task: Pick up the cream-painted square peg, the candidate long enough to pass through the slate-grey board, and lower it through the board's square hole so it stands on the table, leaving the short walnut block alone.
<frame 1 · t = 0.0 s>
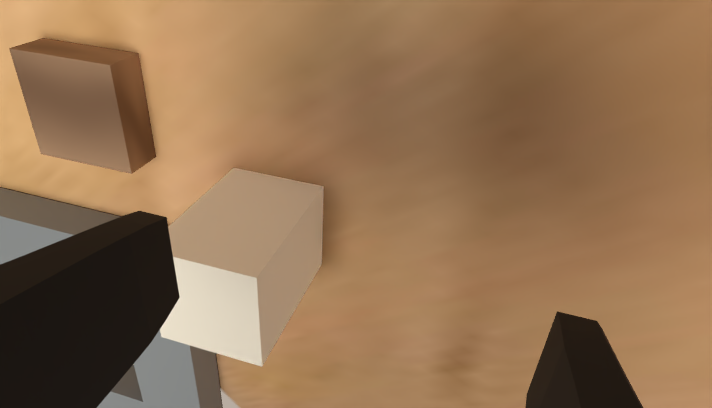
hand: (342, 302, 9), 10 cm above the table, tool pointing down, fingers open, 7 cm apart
board: (107, 322, 30), on the table
short block: (107, 96, 22), on the table
peg: (279, 217, 22), on the table
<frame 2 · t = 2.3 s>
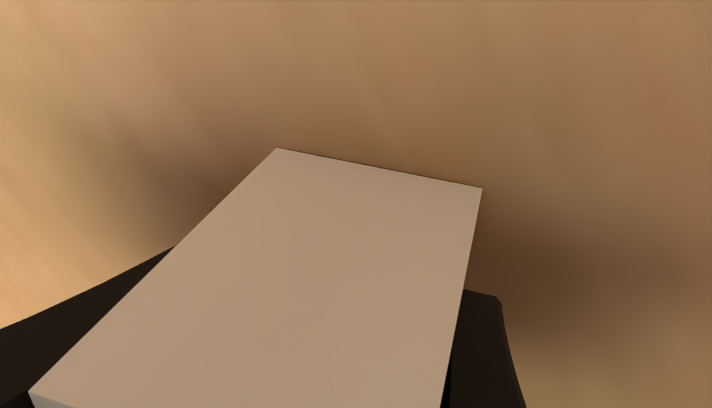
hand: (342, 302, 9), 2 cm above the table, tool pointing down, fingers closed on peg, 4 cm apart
peg: (367, 251, 11), on the table, touching gripper
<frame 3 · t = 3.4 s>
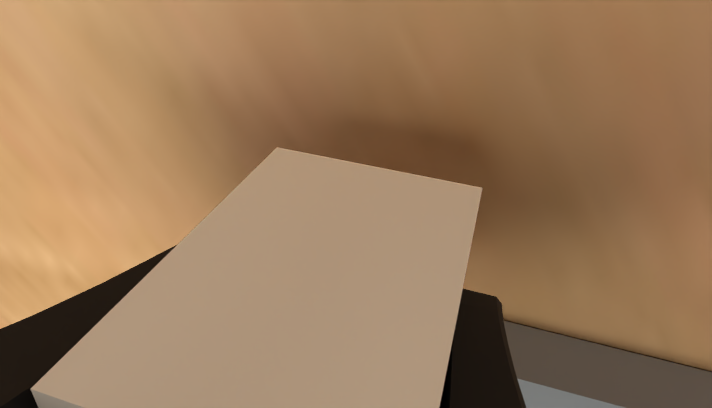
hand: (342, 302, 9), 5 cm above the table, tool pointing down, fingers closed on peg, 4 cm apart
peg: (367, 251, 11), point 3 cm above the table, touching gripper
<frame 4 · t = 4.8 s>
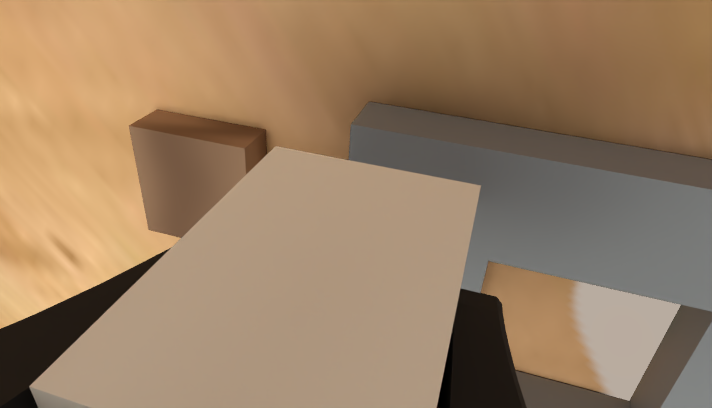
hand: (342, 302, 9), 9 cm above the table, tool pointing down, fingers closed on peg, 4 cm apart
board: (565, 318, 19), on the table
short block: (219, 168, 21), on the table
peg: (366, 249, 11), point 7 cm above the table, touching gripper
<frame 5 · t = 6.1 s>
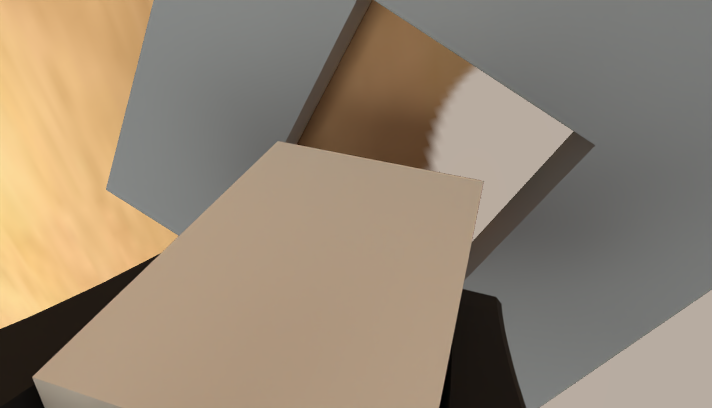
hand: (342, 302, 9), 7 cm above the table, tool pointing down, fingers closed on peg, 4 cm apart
board: (421, 139, 16), on the table
peg: (368, 245, 11), point 6 cm above the table, touching gripper
when the fingers open (3 cm above the table, at t = 7.3 s): peg drops 2 cm, resting in board.
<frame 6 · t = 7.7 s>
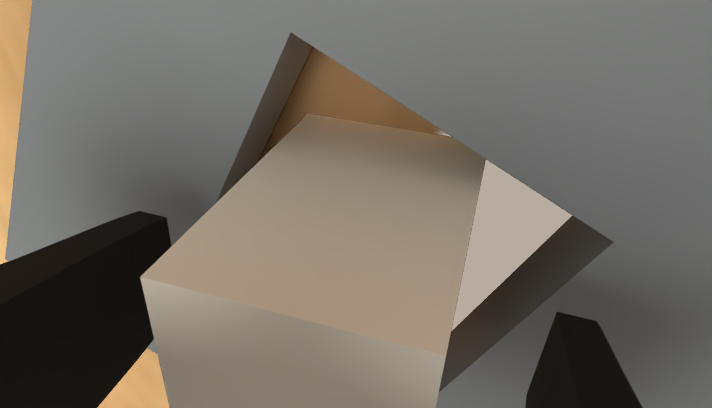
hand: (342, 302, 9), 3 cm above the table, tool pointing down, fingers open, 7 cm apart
board: (388, 208, 12), on the table
peg: (387, 205, 12), resting in board
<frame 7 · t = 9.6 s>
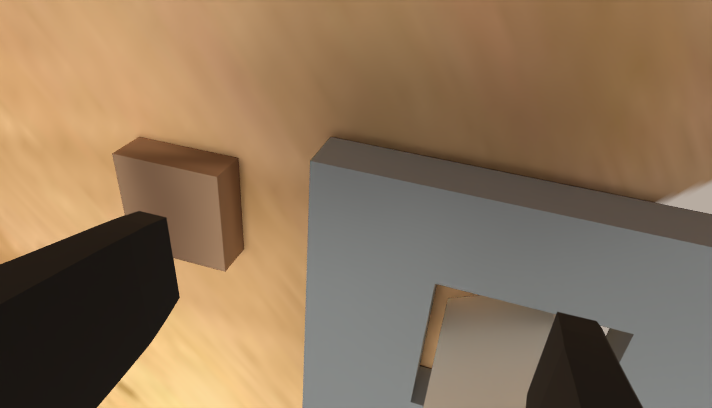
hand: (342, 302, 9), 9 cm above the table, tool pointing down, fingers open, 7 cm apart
board: (510, 334, 21), on the table
short block: (197, 190, 22), on the table
peg: (509, 332, 21), resting in board
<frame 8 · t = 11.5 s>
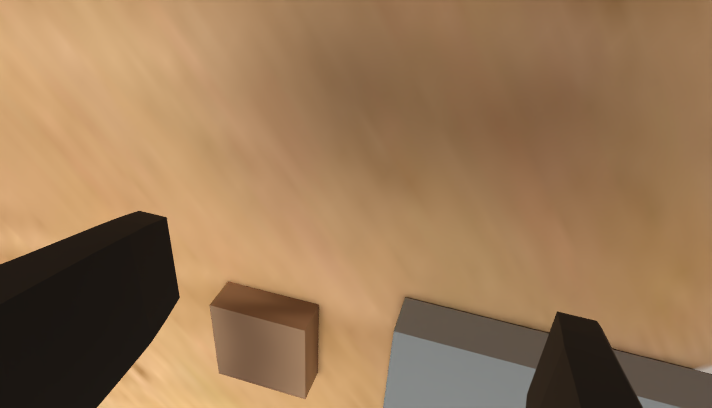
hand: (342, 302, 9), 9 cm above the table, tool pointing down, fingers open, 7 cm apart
short block: (277, 323, 25), on the table
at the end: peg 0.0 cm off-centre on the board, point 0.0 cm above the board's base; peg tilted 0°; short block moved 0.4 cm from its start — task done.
